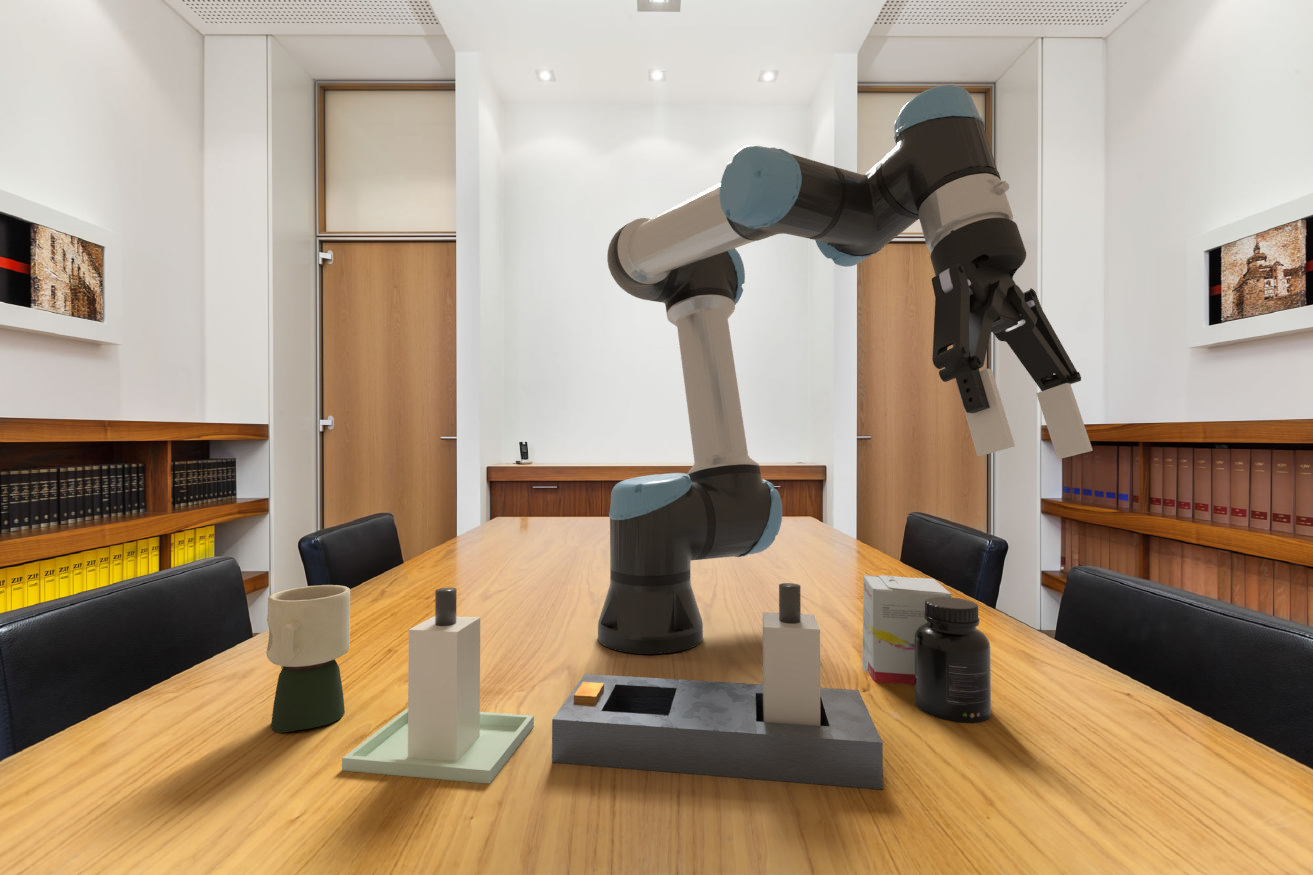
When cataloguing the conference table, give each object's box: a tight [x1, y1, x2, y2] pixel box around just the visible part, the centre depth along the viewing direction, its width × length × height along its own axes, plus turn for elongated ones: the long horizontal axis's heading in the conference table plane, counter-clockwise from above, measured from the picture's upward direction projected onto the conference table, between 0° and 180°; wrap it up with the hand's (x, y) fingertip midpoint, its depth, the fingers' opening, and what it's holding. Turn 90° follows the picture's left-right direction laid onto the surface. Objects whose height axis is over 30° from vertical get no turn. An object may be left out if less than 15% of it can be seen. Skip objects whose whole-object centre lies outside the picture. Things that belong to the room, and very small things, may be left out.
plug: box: [407, 587, 481, 761], centre depth 54 cm, size 4×4×14 cm
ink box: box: [861, 574, 953, 685], centre depth 70 cm, size 9×9×12 cm
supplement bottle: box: [914, 596, 992, 724], centre depth 60 cm, size 7×7×12 cm
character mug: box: [265, 584, 351, 734], centre depth 59 cm, size 11×7×13 cm, turn 9°
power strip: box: [551, 673, 884, 791], centre depth 52 cm, size 10×26×6 cm, turn 81°
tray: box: [341, 707, 535, 785], centre depth 54 cm, size 10×13×2 cm
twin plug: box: [762, 582, 821, 726], centre depth 51 cm, size 4×4×14 cm
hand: (1038, 453), depth 51 cm, fingers open, 13 cm apart
